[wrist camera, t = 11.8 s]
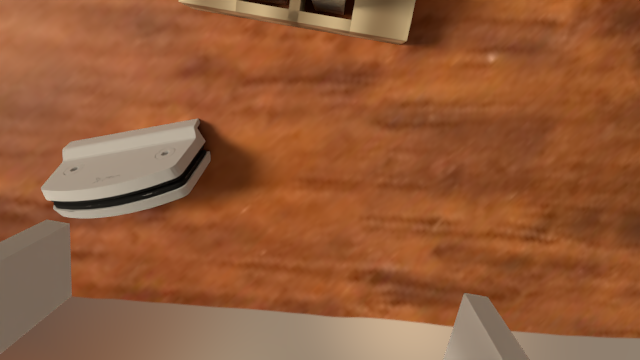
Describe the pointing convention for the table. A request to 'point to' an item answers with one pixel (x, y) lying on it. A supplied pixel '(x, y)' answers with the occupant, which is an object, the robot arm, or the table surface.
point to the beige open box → (326, 17)
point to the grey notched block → (321, 5)
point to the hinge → (128, 171)
